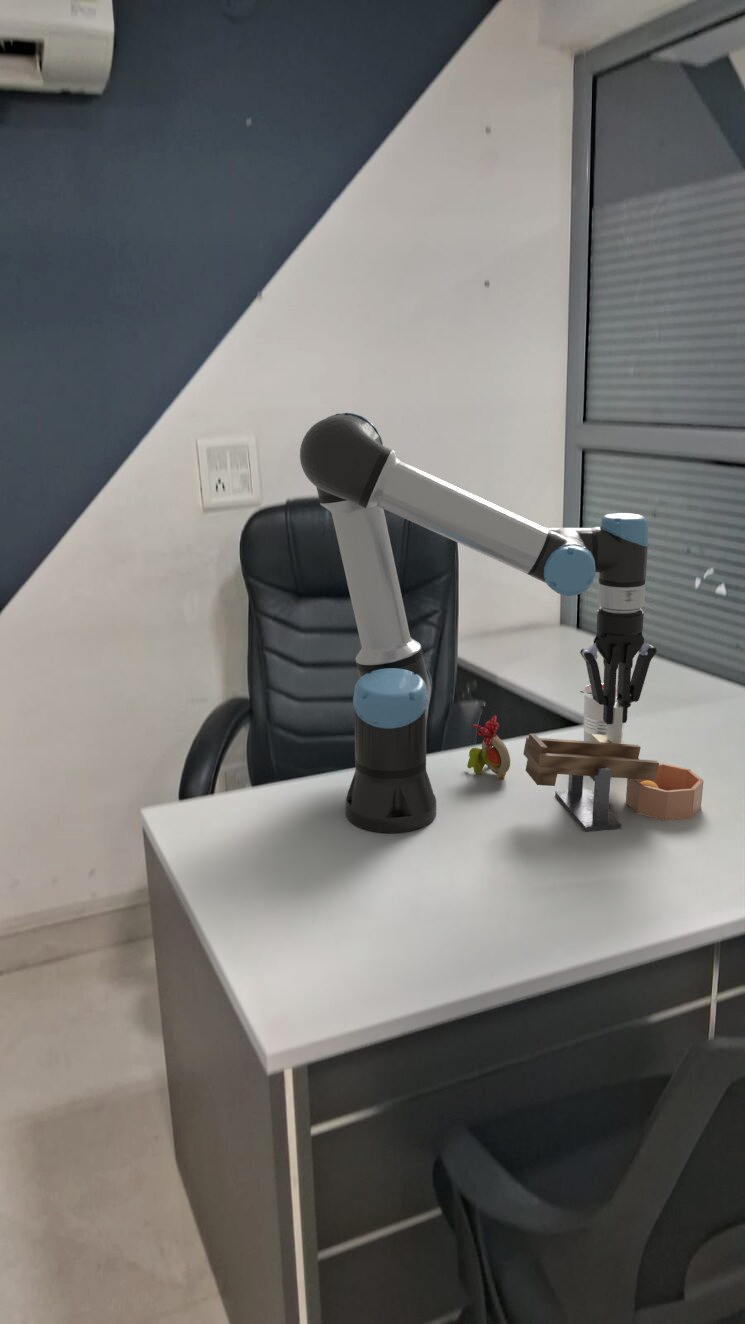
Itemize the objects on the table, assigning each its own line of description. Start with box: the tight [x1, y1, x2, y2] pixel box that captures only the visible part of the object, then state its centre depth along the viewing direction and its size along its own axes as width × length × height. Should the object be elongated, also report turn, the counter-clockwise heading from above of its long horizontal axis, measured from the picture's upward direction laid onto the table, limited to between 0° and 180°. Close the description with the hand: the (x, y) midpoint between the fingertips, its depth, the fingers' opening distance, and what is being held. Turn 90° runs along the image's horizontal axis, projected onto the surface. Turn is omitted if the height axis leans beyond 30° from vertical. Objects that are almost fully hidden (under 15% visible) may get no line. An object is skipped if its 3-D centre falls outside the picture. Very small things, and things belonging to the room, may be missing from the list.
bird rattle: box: [466, 715, 511, 779], centre depth 179 cm, size 6×11×9 cm
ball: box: [640, 780, 659, 788], centre depth 166 cm, size 4×4×4 cm
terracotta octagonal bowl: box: [625, 763, 704, 821], centre depth 166 cm, size 11×11×5 cm
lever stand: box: [554, 766, 622, 833], centre depth 163 cm, size 6×14×10 cm, turn 10°
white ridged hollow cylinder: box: [580, 682, 625, 742], centre depth 189 cm, size 10×8×12 cm
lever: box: [523, 733, 660, 787], centre depth 166 cm, size 20×16×6 cm
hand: (613, 740), depth 171 cm, fingers closed
